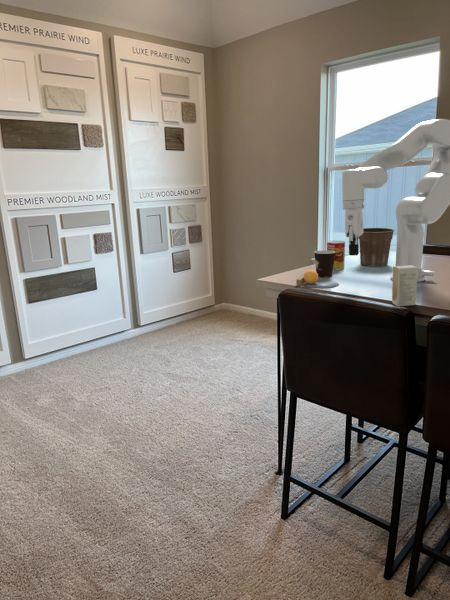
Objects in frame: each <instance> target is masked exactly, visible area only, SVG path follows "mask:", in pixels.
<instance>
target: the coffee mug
mask: <svg viewBox="0 0 450 600" xmlns="http://www.w3.org/2000/svg"><path fill="white" fill-rule="evenodd" d="M313 253H314V261H315V262H314V263H315V271H316V272H317V274H318V278H329V277H330V276H331V277H332V276H333V272H334V270H333V265H334V258H335V251H327V250H318V251H317V250H315V251H314V252H313Z"/></svg>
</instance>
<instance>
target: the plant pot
mask: <svg viewBox="0 0 450 600" xmlns="http://www.w3.org/2000/svg"><path fill="white" fill-rule="evenodd" d="M394 232H395V229H393V228H387V227H365V228H364V227H363V234H362V235H361V236H359V237H358V244H359V260H360V261H359V262H360V265H362V266H365V267H370V268H371V267H373V268H375V267H383V266H384V267H387V266H388V264H389V258H390V249H391V244H392V240H393V236H394Z"/></svg>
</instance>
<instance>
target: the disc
mask: <svg viewBox="0 0 450 600" xmlns="http://www.w3.org/2000/svg"><path fill="white" fill-rule="evenodd" d="M304 286H305V287H307V288H311V289H312V288H313V289H331V288H337V287H339V286H340V283H339V282H337V281H332V280H324V279H323V280H321V279H320V280H319V279H318V280H317V282H316V283H314V284H308V283H306V282H305V283H304ZM336 286H337V287H336Z"/></svg>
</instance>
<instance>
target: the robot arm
mask: <svg viewBox="0 0 450 600" xmlns="http://www.w3.org/2000/svg"><path fill="white" fill-rule="evenodd" d="M428 146H431V147H432V150H433V151H432V152H433V159H432V161H431V163H430V164H429V166H428V167H427V168H426V169H425V171H424V173H423V174H422V175H421V176H420V178H419V180H418V181H417V183H416V185H415V188H414V191H415V194H416V195H417V196H407V197H404V198H402V199H401V200H400V201H399V202H397V205H396V208H395V217H396V225H397V226H396V227H397V228H396V229H397V231H396V232H397V233H396V249H395V250H396V251H395V264H394V266H406V265H413V266H415V267H417V283H419V282H424V281H425V280H426V276H427V277H434V276H435V275H434V274H435V271H434V270H433V271H431V270H425V269H423V267H422V266H423V265H422V264H423V253H424V252H423V249H424V239H425V238H424V237H425V231H424V227H423V225H431V224H433V223H436V222H437V221H438V220H440V218H441V217H442V215H443V214H444V213H445V211H446V210H447V208H448V207H449V206H450V119H445V118H437V119H430V120H426V121H422V122H420V123H418V124H416V125H415V126H413V127H412V128H410V130H409V131H407V132H406V133H405V134H404V135H402V137H400V138H398V140H396V141H395V142H394V143H393V144H391V145H389V146H387V147H386V148H384V149H382V150H381V151H379V152H377V153H376V154H374V155H372V156H370V158H368V159H367V160H365V161H363V163H361V164H360V165H359V166H358V167H357V168H355V169H354V168H352V169H351V168H350V169H346V170H343V172H342V175H341V178H342V179H341V181H342V185H341V188H342V189H341V190H342V191H341V192H342V194H341V195H342V210H344V211H345V215H344V217H345V219H344V230H345V233H344V234H345V237H346V238H348V255H349V256H358V255H360V244H359V236H361V235H362V234H363V228H364V215H363V210H364V209H365V189H379V188H381V187H383V186H385V185H386V183H387V181H388V180H389V175H388V174H389V173H388V172H387V171H389V170H391V169H394V168H398V167H401V166H404V165H405V164H407V163H409V162H410V161H412V160H413V159H414V158H415V157H416V156H417V155H418V154H420V153H421V152H422V151H423V150H425V149H426V148H427V147H428ZM390 280H392V281H393V274H391V275H390Z"/></svg>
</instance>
